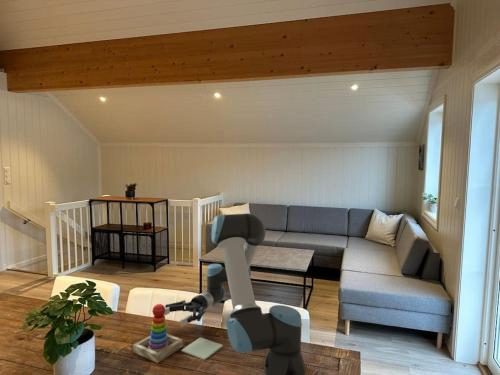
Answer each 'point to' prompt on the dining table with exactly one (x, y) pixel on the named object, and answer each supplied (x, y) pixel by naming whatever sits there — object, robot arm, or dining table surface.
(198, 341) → the sage mat
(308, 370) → the dining table surface
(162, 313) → the stacking toy
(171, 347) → the birch holder
